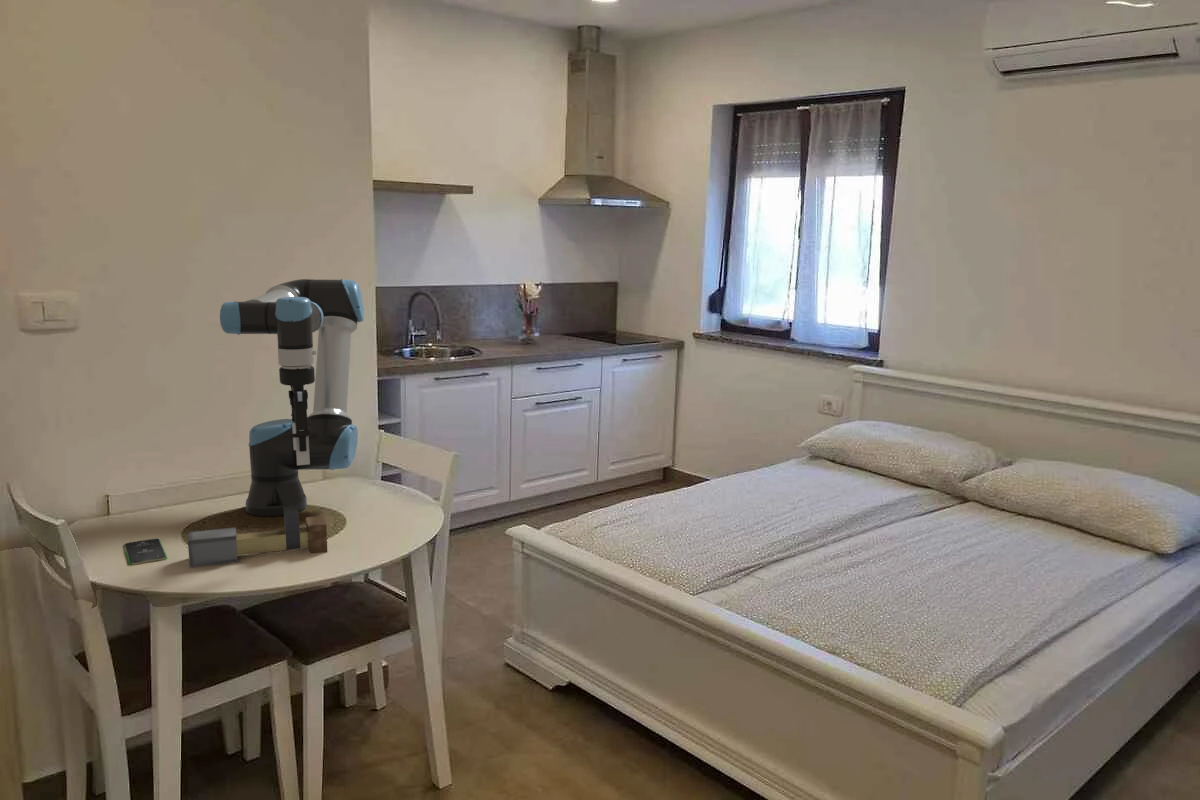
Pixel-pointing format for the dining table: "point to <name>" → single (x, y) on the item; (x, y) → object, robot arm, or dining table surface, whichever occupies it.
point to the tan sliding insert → (275, 536)
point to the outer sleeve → (212, 547)
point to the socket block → (317, 534)
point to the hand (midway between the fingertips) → (301, 456)
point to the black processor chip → (144, 551)
